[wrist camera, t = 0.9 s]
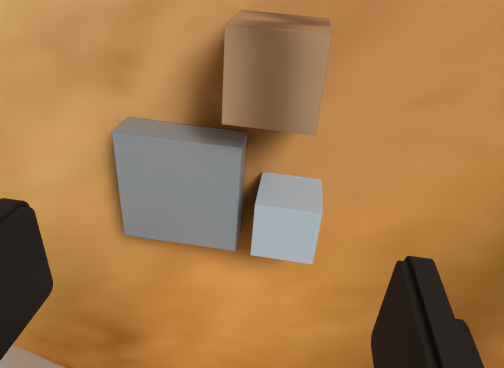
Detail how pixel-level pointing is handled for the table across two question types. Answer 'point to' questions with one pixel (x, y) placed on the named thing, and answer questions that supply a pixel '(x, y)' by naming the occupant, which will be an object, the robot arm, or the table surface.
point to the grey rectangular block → (180, 182)
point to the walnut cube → (274, 71)
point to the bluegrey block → (287, 217)
